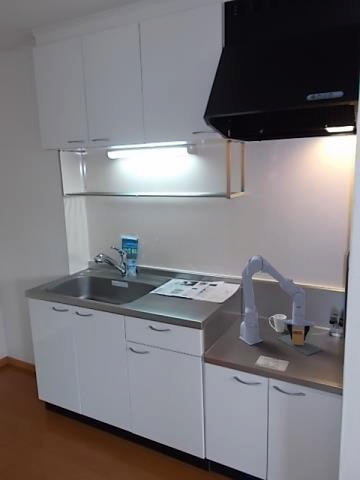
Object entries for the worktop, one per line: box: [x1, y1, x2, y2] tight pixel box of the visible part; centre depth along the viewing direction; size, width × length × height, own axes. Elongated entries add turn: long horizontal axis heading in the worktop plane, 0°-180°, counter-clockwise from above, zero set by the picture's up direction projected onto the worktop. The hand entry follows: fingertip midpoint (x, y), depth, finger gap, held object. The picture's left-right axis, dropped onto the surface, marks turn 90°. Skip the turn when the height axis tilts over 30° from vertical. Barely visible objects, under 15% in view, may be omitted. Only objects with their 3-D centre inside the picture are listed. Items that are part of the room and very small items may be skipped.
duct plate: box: [277, 333, 324, 357], centre depth 186 cm, size 20×10×3 cm, turn 28°
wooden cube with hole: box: [292, 329, 304, 345], centre depth 185 cm, size 5×5×5 cm
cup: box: [268, 313, 287, 333], centre depth 202 cm, size 7×10×8 cm
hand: (298, 339), depth 185 cm, fingers closed on wooden cube with hole, 5 cm apart
